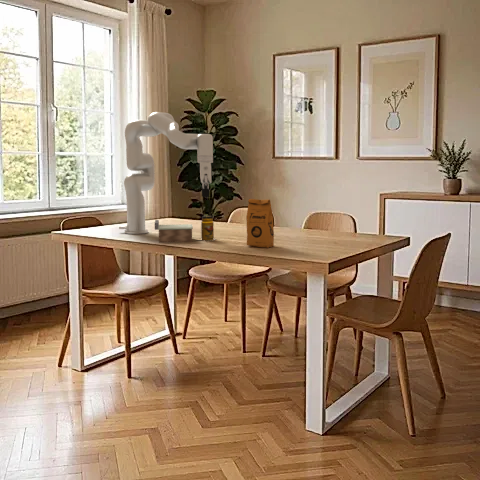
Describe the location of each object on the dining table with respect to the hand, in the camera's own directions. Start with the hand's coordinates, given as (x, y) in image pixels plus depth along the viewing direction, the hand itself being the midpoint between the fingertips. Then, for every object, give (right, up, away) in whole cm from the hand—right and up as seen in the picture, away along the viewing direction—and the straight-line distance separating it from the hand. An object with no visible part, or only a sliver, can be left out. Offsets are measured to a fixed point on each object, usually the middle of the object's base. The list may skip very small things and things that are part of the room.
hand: (205, 196), depth 307 cm
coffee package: (+26, -25, -18) cm, 40 cm away
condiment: (0, -22, +3) cm, 22 cm away
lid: (-16, -15, +1) cm, 22 cm away
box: (-15, -22, +2) cm, 26 cm away
